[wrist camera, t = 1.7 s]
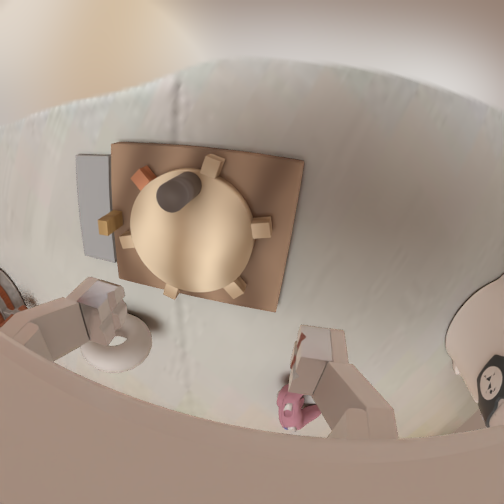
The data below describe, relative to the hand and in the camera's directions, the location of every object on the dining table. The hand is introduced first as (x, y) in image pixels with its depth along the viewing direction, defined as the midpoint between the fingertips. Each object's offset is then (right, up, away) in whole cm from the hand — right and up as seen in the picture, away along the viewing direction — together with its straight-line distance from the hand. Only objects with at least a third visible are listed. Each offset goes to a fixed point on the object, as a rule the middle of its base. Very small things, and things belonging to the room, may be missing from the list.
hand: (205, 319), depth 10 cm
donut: (-15, -7, +28) cm, 32 cm away
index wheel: (-4, +5, +18) cm, 19 cm away
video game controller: (+9, -18, +30) cm, 36 cm away
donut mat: (-17, +8, +21) cm, 28 cm away
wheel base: (-4, +5, +20) cm, 21 cm away
